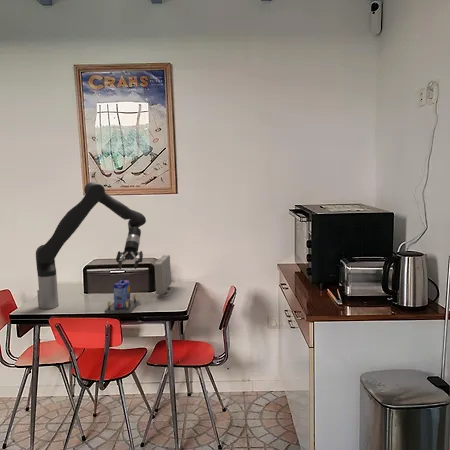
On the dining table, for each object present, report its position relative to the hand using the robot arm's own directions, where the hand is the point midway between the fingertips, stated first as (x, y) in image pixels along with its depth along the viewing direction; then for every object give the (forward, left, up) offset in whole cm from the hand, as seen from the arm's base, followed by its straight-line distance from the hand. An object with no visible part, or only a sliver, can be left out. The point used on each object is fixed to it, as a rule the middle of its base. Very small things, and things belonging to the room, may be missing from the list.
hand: (127, 268), depth 240 cm
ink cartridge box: (0, -11, -17) cm, 21 cm away
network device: (+15, +19, -19) cm, 31 cm away
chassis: (0, -12, -19) cm, 22 cm away
